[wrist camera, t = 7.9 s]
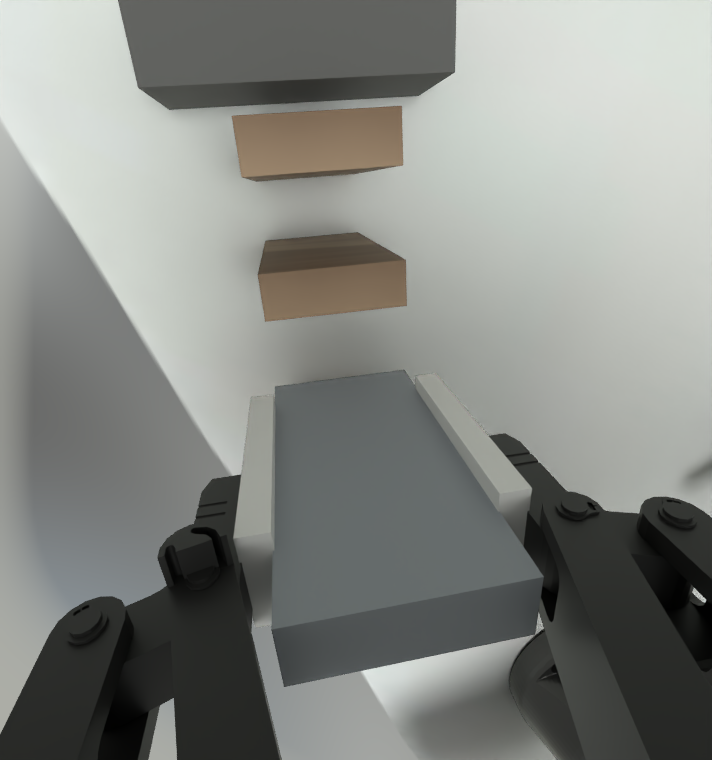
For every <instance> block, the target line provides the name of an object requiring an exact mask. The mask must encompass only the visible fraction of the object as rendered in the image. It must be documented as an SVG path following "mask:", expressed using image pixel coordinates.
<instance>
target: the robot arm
mask: <svg viewBox="0 0 712 760" xmlns="http://www.w3.org/2000/svg"><path fill="white" fill-rule="evenodd" d="M415 388H416V390H417V391H418V393H419V394H420V396H421V397H422V399H423V400H424V402H425V403H426V405H427V406H428V408H429V409H430V411H431V412H432V414H433V415H434V417H435V418H436V420H437V421H438V423H439V424H440V426H441V427H442V429H443V430H444V432H445V433H446V435H447V436H448V438H449V439H450V441H451V442H452V444H453V445H454V447H455V448H456V450H457V451H458V453H459V454H460V456H461V457H462V459H463V460H464V461H465V463H466V464H467V466H468V467H469V469H470V470H471V472H472V473H473V475H474V476H475V478H476V479H477V481H478V482H479V484H480V485H481V487H482V488H483V490H484V491H485V493H486V494H487V496H488V497H489V499H490V500H491V502H492V503H493V505H494V506H495V508H496V509H497V511H498V512H500V513H501V514H502V516H503V517H504V519H505V520H506V522H507V523H508V525H509V526H510V528H511V529H512V530H513V532H514V533H515V535H516V536H517V538H518V539H519V541H520V542H521V544H522V545H523V547H524V548H525V550H526V551H527V553H528V554H529V556H530V557H531V559H532V560H533V562H534V563H535V565H536V566H537V568H538V569H539V570H540V572H541V573H542V575H543V576H544V579H543V585H542V592H541V599H540V605H539V614H540V617H541V620H542V623H543V626H544V629H545V631H544V632H543V633H542V634H540V635H539V636H538V637H536V638H535V639H534V640H533V641H532V642H531V643H530V644H529V645H528V646H527V647H526V648H525V649H524V650H523V652H522V653H521V654H520V655H519V657H518V658H517V660H516V662H515V664H514V666H513V668H512V671H511V674H510V681H509V684H510V690H511V693H512V695H513V697H514V699H515V702H516V704H517V706H518V708H519V710H520V712H521V715H522V716H523V718H524V719H525V721H526V722H527V724H528V725H529V726H530V727H531V728H532V730H533V731H534V732H535V733H536V734H537V736H538V737H539V738H540V739H541V741H542V742H543V743H544V744H545V745H546V747H547V748H548V749H549V750H550V751H551V753H552V754H553V755H554V756H555V758H556V759H557V760H712V518H711V517H710V516H709V515H707V514H706V513H705V512H704V511H702V510H700V509H699V508H697V507H695V506H694V505H692V504H690V503H687V502H684V501H682V500H679V499H675V498H669V497H652V498H650V499H647V500H645V501H644V503H643V504H642V506H641V509H640V513H639V514H637V513H622V512H610V511H604V510H603V509H602V507H601V506H600V505H599V504H598V503H597V502H595V501H594V500H592V499H590V498H589V497H587V496H584V495H581V494H578V493H576V492H567V491H566V490H565V489H564V488H563V487H562V486H561V485H560V484H559V483H558V482H557V481H556V479H555V478H554V477H553V476H552V475H551V474H550V473H549V472H548V471H547V470H546V469H545V468H544V467H543V466H542V465H541V463H538V460H537V459H536V458H535V457H534V456H533V455H532V454H530V452H529V451H528V450H527V449H526V447H525V446H524V445H523V444H522V443H521V442H520V441H518V440H516V439H514V438H512V437H511V436H509V435H507V434H505V433H504V434H498V435H491V436H488V435H487V434H486V432H485V431H484V430H483V429H482V428H481V426H480V425H479V424H478V423H477V422H476V420H475V419H474V418H473V417H472V416H471V414H470V413H469V412H468V411H467V410H466V408H465V407H464V406H463V405H462V404H461V402H460V401H459V400H458V399H457V398H456V396H455V395H454V394H453V393H452V392H451V390H450V389H449V388H448V387H447V386H446V384H445V383H444V382H443V381H442V380H441V378H440V377H439V376H438V375H437V374H436V373H432V374H424V375H416V376H415ZM275 413H276V407H275V401H274V395H265V396H257V397H251V400H250V408H249V416H248V424H247V433H246V441H245V449H244V457H243V465H242V473H241V475H236V476H229V477H223V478H217V479H212V480H211V482H210V483H209V484H208V485H207V486H206V488H205V489H204V490H203V491H202V493H201V498H200V501H199V508H198V510H197V514H196V520H195V522H194V524H192V525H189V526H187V527H184V528H182V529H180V530H178V531H177V532H175V533H174V534H173V535H171V536H170V537H169V538H167V540H166V541H165V542H164V543H163V545H162V546H161V547H160V550H159V554H158V561H159V564H160V567H161V570H162V572H163V575H164V578H165V581H166V584H167V586H166V587H164V588H163V589H162V590H160V591H158V592H157V593H155V594H153V595H151V596H149V597H147V598H144V599H142V600H140V601H137V602H135V603H133V604H130V605H128V606H126V607H125V606H124V604H123V602H122V600H120V599H117V598H115V597H98V598H95V599H92V600H89V601H86V602H84V603H82V604H80V605H79V606H77V607H75V608H74V609H72V610H71V611H69V612H68V613H67V614H66V615H65V616H64V617H63V618H62V619H61V620H59V621H58V623H57V624H56V626H55V627H54V629H53V630H52V632H51V633H50V635H49V637H48V639H47V641H46V643H45V645H44V647H43V649H42V651H41V653H40V655H39V657H38V659H37V661H36V663H35V665H34V667H33V669H32V671H31V673H30V675H29V677H28V679H27V681H26V683H25V685H24V687H23V689H22V691H21V694H20V696H19V697H18V700H17V701H16V704H15V706H14V708H13V710H12V712H11V714H10V716H9V718H8V720H7V722H6V724H5V726H4V728H3V730H2V732H1V734H0V760H148V758H149V754H150V749H151V744H152V739H153V735H154V730H155V726H156V721H157V716H158V712H159V707H160V705H161V704H163V703H165V702H167V701H169V700H170V699H172V698H174V708H175V727H176V744H177V745H176V746H177V760H282V759H281V755H280V750H279V747H278V742H277V738H276V734H275V729H274V725H273V721H272V717H271V713H270V709H269V704H268V700H267V696H266V692H265V688H264V683H263V679H262V675H261V671H260V666H259V663H258V658H257V654H256V650H255V645H254V642H253V638H252V634H251V628H252V617H253V620H254V625H255V628H259V627H264V626H270V625H272V556H273V551H274V539H275ZM693 588H695V589H696V590H697V591H698V592H699V593H700V594H701V595H702V596H703V597H704V598H705V599H706V603H704V602H702V601H701V600H699V599H698V598H697V597H696V596H695V595H694V594H693V593H692V591H693Z"/></svg>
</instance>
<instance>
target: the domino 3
mask: <svg viewBox="0 0 712 760" xmlns="http://www.w3.org/2000/svg"><path fill="white" fill-rule="evenodd" d="M275 407H276V413H275V539H274V551H273V556H272V626H271V630H272V634H273V638H274V643H275V648H276V652H277V656H278V661H279V665H280V670H281V675H282V679H283V684H284V687H286V686H290V685H296V684H301V683H305V682H310V681H315V680H320V679H324V678H329V677H334V676H338V675H343V674H348V673H353V672H358V671H363V670H367V669H372V668H377V667H382V666H386V665H391V664H396V663H401V662H405V661H410V660H415V659H420V658H425V657H429V656H434V655H439V654H444V653H448V652H453V651H458V650H463V649H468V648H472V647H477V646H482V645H487V644H491V643H496V642H501V641H506V640H510V639H515V638H520V637H525V636H530V635H534V634H535V631H536V625H537V618H538V612H539V605H540V599H541V592H542V585H543V579H544V576H543V575H542V573H541V572H540V570H539V569H538V568H537V566H536V565H535V563H534V562H533V560H532V559H531V557H530V556H529V554H528V553H527V551H526V550H525V548H524V547H523V545H522V544H521V542H520V541H519V539H518V538H517V536H516V535H515V533H514V532H513V530H512V529H511V528H510V526H509V525H508V523H507V522H506V520H505V519H504V517H503V516H502V514H501V513H500V512H498V511H497V509H496V508H495V506H494V505H493V503H492V502H491V500H490V499H489V497H488V496H487V494H486V493H485V491H484V490H483V488H482V487H481V485H480V484H479V482H478V481H477V479H476V478H475V476H474V475H473V473H472V472H471V470H470V469H469V467H468V466H467V464H466V463H465V461H464V460H463V459H462V457H461V456H460V454H459V453H458V451H457V450H456V448H455V447H454V445H453V444H452V442H451V441H450V439H449V438H448V436H447V435H446V433H445V432H444V430H443V429H442V427H441V426H440V424H439V423H438V421H437V420H436V418H435V417H434V415H433V414H432V412H431V411H430V409H429V408H428V406H427V405H426V403H425V402H424V400H423V399H422V397H421V396H420V394H419V393H418V391H417V390H416V388H415V385H414V384H413V382H412V381H411V379H410V378H409V376H408V375H407V374H406V372H405V371H404V370H399V371H392V372H384V373H376V374H369V375H361V376H353V377H345V378H338V379H330V380H322V381H314V382H307V383H299V384H291V385H284V386H276V387H275Z"/></svg>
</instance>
